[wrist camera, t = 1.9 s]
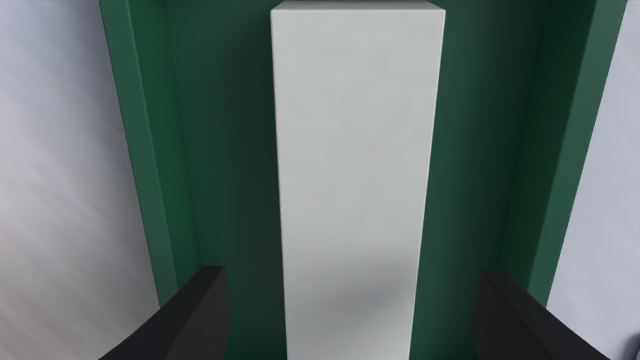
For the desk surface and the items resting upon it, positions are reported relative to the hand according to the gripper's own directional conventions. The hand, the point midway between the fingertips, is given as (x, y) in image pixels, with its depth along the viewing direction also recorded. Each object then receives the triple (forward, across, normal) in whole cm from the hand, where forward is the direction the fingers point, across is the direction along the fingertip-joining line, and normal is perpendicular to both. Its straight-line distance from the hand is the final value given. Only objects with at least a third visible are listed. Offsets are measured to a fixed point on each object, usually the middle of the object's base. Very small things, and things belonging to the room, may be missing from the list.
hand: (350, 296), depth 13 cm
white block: (+5, 0, 0) cm, 5 cm away
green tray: (+6, 0, 0) cm, 6 cm away
